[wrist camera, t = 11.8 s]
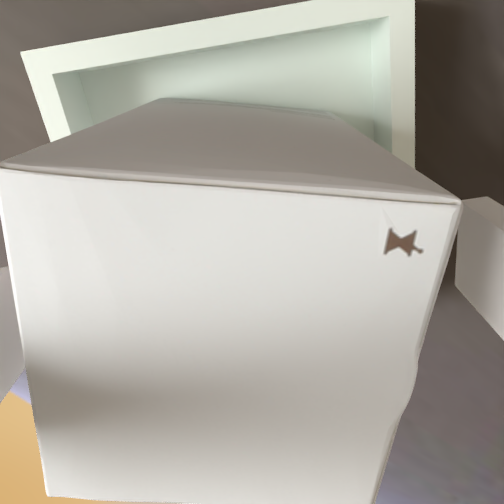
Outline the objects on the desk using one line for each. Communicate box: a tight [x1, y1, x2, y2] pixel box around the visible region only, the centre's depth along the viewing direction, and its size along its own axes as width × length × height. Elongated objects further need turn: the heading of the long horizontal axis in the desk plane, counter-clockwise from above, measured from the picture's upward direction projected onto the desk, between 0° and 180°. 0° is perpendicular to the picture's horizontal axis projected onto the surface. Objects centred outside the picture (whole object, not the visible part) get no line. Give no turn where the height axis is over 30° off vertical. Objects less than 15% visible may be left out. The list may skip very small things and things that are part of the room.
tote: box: [20, 0, 415, 169], centre depth 22 cm, size 16×16×4 cm
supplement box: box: [0, 98, 463, 504], centre depth 16 cm, size 9×9×15 cm
